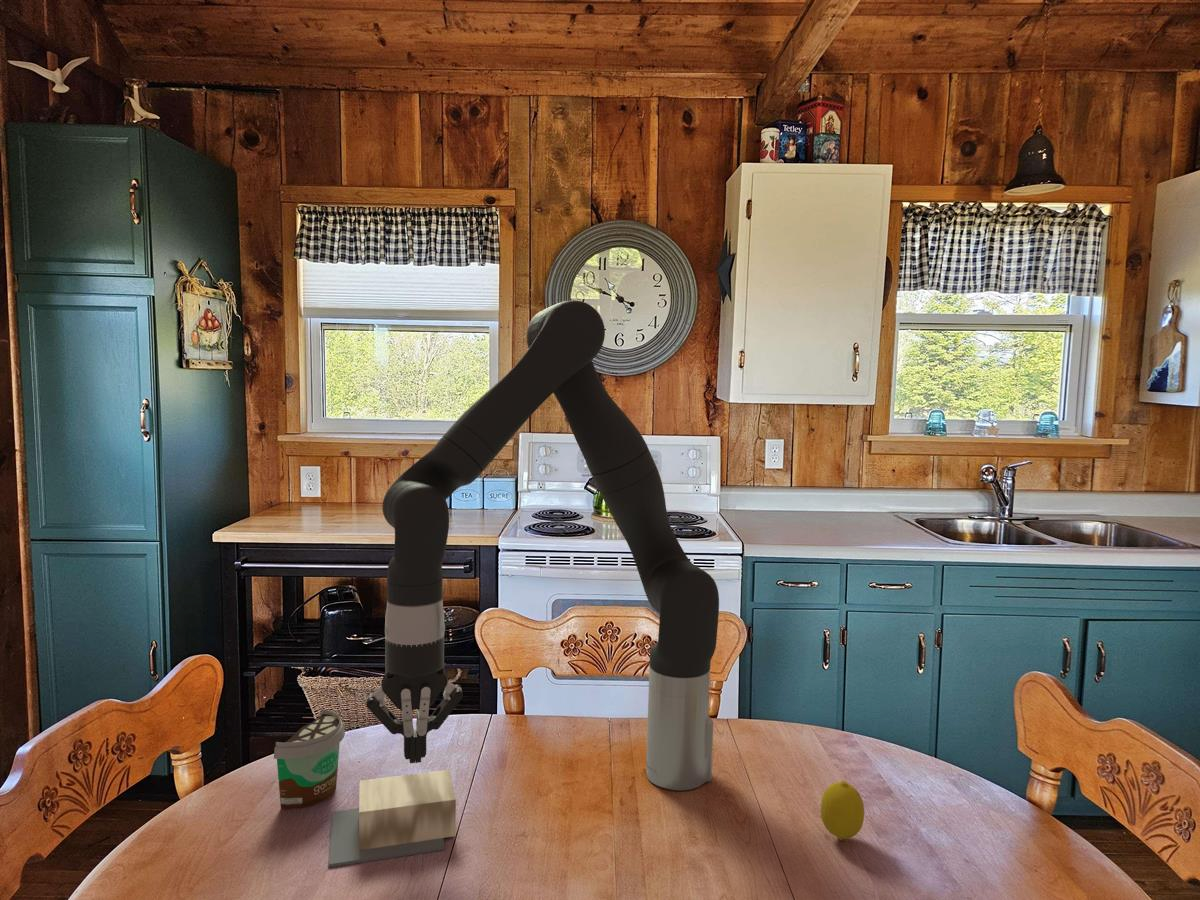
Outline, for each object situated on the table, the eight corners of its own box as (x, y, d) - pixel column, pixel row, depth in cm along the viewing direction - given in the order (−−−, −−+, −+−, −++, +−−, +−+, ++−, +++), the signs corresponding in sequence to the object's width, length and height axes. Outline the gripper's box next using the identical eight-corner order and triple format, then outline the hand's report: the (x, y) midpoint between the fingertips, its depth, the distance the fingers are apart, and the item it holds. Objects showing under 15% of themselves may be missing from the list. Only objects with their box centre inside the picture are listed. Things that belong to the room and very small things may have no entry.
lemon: (840, 856, 98) (843, 796, 98) (810, 833, 103) (813, 776, 103) (871, 845, 101) (875, 787, 100) (840, 823, 106) (843, 768, 105)
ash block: (449, 769, 107) (359, 780, 104) (455, 799, 100) (359, 812, 96) (449, 803, 108) (359, 815, 104) (455, 836, 100) (359, 850, 97)
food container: (314, 820, 104) (314, 749, 103) (274, 814, 105) (273, 743, 104) (360, 775, 116) (360, 711, 115) (323, 770, 117) (323, 707, 116)
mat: (436, 800, 109) (436, 797, 109) (444, 849, 98) (444, 846, 98) (332, 814, 105) (332, 811, 105) (328, 867, 94) (328, 864, 94)
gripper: (462, 620, 106) (461, 741, 107) (362, 627, 102) (362, 753, 103) (469, 638, 99) (468, 767, 100) (362, 646, 95) (362, 780, 96)
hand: (414, 760), depth 102 cm, fingers closed
